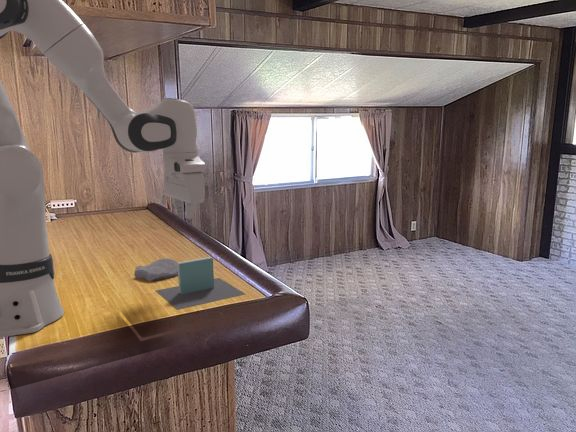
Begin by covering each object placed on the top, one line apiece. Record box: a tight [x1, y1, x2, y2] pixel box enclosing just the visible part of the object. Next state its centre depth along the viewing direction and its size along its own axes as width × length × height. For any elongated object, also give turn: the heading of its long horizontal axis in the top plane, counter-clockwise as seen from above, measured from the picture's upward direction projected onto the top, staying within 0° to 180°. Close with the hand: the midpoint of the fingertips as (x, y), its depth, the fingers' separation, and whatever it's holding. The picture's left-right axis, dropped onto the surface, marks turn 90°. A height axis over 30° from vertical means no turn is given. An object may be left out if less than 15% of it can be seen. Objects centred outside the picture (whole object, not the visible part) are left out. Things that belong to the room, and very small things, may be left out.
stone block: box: [133, 257, 178, 282], centre depth 136 cm, size 12×5×10 cm
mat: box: [155, 277, 246, 311], centre depth 121 cm, size 18×16×1 cm
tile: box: [177, 256, 215, 295], centre depth 122 cm, size 9×2×8 cm, turn 123°
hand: (184, 216), depth 124 cm, fingers open, 5 cm apart
